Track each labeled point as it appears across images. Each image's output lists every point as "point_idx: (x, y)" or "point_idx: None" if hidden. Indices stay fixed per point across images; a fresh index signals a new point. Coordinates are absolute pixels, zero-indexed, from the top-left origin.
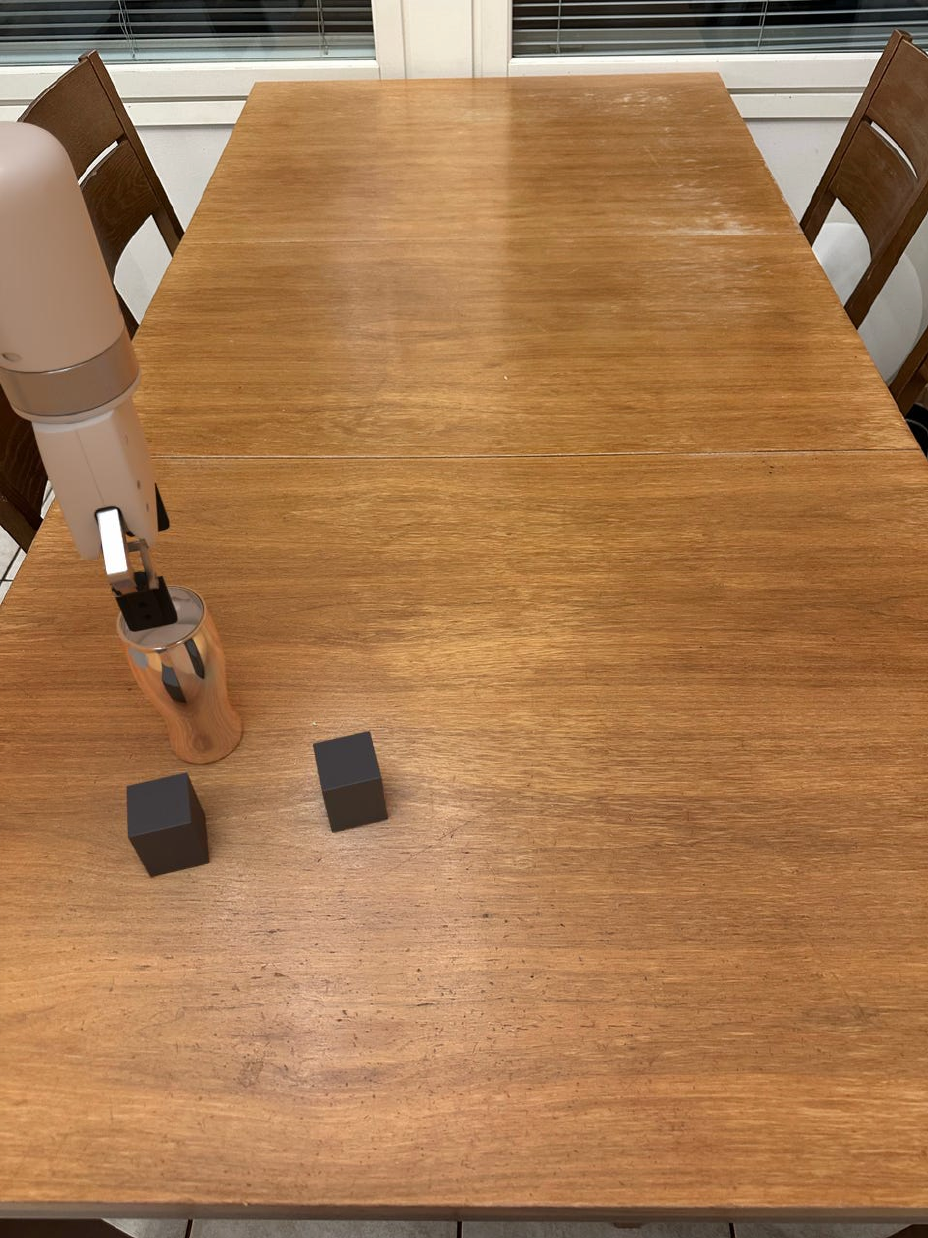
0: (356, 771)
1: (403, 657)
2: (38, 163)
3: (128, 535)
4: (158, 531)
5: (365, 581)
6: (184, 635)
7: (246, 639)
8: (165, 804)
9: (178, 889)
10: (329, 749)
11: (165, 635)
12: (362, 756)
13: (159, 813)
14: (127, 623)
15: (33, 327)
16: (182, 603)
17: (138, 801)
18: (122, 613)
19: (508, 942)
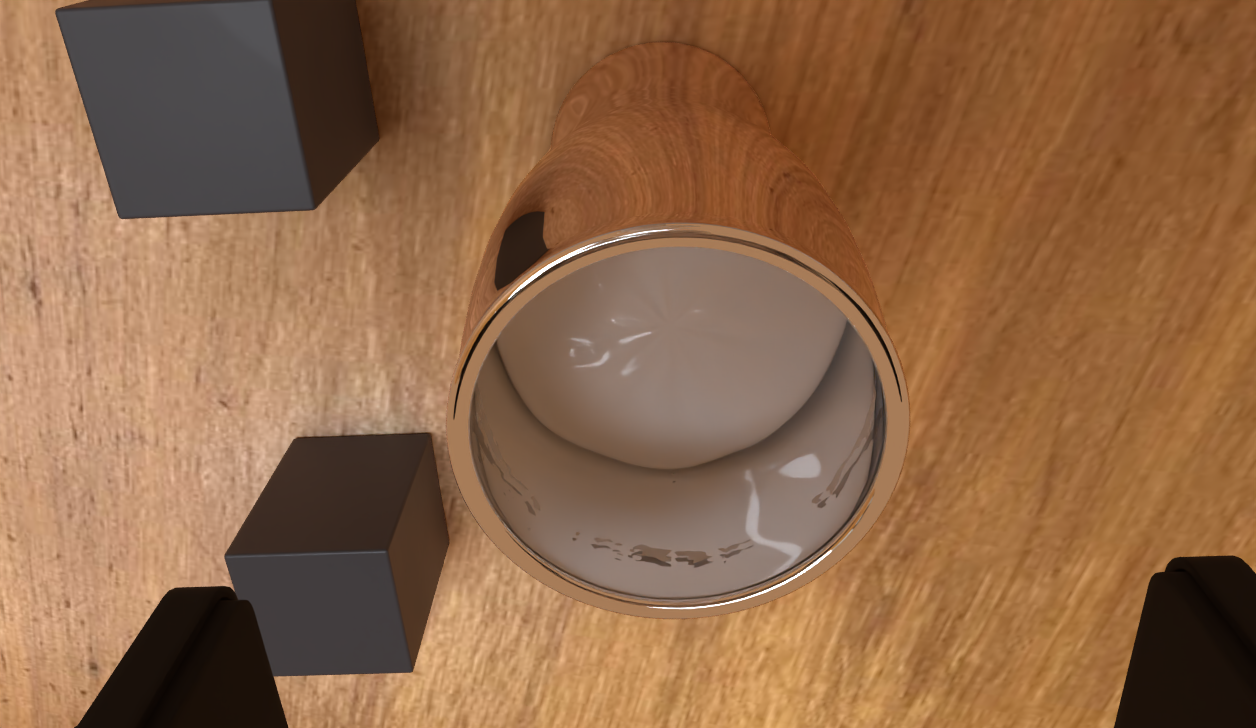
0: (283, 632)
1: (785, 637)
2: None
3: (1161, 579)
4: (1117, 723)
5: (1088, 596)
6: (750, 361)
7: (1007, 284)
8: (186, 140)
9: None
10: (361, 585)
11: (773, 288)
12: (330, 649)
13: (150, 120)
14: (142, 638)
15: None
16: (857, 433)
17: (198, 46)
18: (78, 724)
19: (40, 688)
